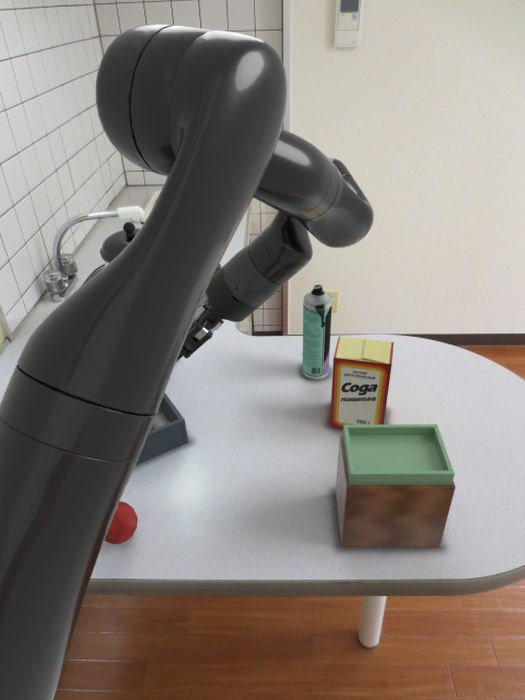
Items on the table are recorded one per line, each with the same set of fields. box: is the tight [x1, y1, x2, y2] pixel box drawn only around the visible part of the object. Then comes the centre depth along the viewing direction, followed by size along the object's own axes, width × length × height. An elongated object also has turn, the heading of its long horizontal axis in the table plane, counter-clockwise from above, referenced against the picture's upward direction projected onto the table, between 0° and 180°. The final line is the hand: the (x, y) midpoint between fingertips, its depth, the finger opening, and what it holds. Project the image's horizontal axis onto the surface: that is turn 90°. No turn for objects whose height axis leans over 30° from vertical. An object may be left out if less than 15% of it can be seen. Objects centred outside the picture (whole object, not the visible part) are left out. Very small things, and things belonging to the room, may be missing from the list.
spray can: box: [302, 284, 333, 380], centre depth 104 cm, size 6×6×20 cm
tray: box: [342, 423, 455, 485], centre depth 71 cm, size 13×9×2 cm
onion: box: [104, 500, 139, 545], centre depth 76 cm, size 6×6×8 cm
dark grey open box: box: [135, 392, 189, 466], centre depth 94 cm, size 14×14×6 cm
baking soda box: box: [329, 335, 395, 429], centre depth 93 cm, size 10×6×16 cm
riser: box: [335, 433, 456, 548], centre depth 76 cm, size 14×10×13 cm
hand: (178, 342), depth 81 cm, fingers open, 8 cm apart
